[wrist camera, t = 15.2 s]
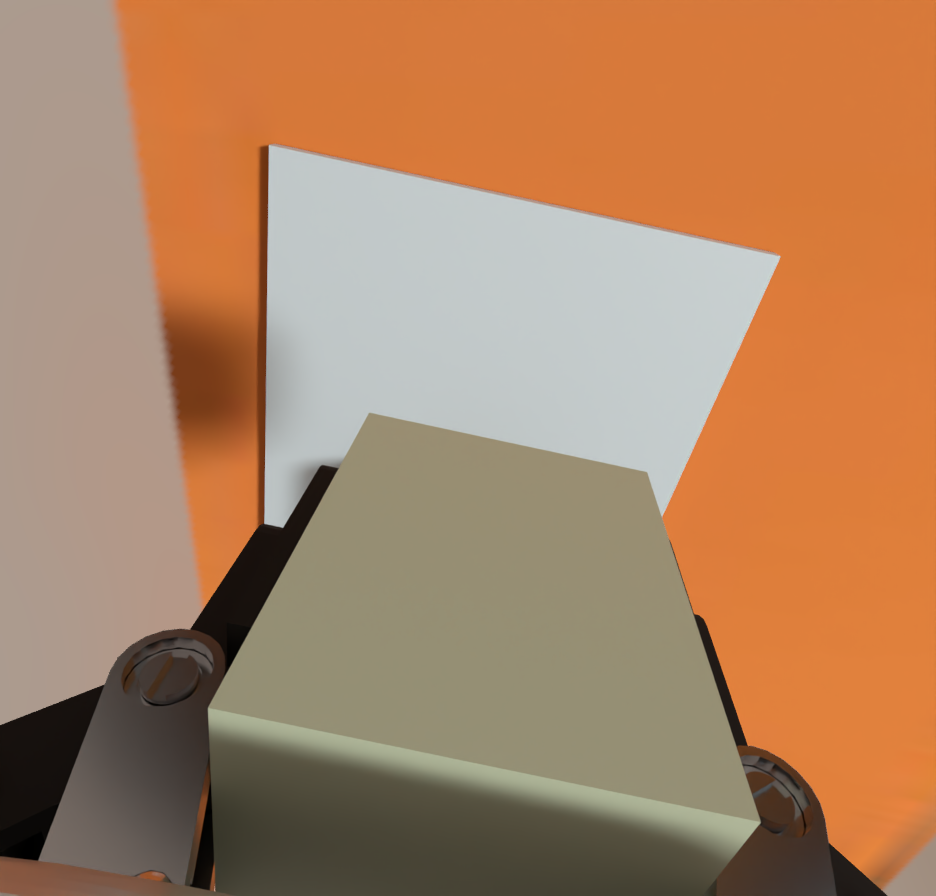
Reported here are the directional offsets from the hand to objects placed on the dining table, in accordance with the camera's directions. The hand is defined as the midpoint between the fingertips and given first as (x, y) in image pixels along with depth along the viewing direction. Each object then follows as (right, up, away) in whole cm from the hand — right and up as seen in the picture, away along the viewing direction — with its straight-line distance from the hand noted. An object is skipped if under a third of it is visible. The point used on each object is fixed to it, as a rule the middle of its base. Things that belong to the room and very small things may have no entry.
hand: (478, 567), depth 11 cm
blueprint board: (-1, -1, +17) cm, 17 cm away
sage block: (0, 0, 0) cm, 1 cm away
